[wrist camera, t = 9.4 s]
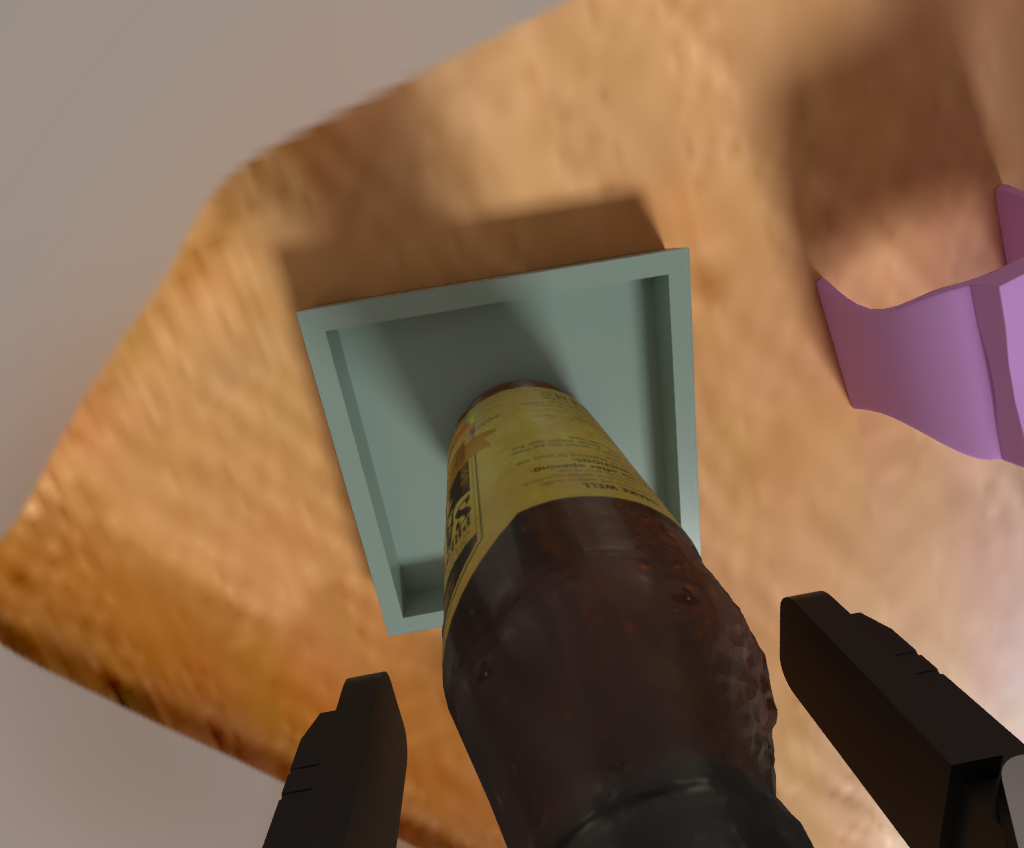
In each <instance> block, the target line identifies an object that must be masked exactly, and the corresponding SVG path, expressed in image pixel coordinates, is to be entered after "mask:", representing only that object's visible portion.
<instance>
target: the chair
mask: <svg viewBox="0 0 1024 848" xmlns="http://www.w3.org/2000/svg"><path fill="white" fill-rule="evenodd" d="M995 194H996V201H997V208H998V214H999V220H1000V226H1001V233H1002V239H1003V245H1004V252H1005V258H1006V264H1007V265H1006V266H1004V267H1001V268H999V269H997V270H995V271H993V272H990V273H988V274H986V275H983V276H980V277H978V278H975V279H972V280H969V281H966V282H962V283H959V284H954V285H950V286H946V287H943V288H940V289H937V290H934V291H931V292H929V293H926V294H924V295H922V296H920V297H917V298H915V299H913V300H911V301H908V302H906V303H903V304H901V305H898V306H894V307H890V308H886V309H869V308H866V307H863V306H861V305H858V304H856V303H855V302H853V301H851V300H850V299H848V298H847V297H845V296H844V295H843V294H842V293H840V292H839V291H838V290H837V289H836V288H835V287H834V286H832V285H831V284H830V283H829V282H828V281H827V280H826V279H824V278H822V279H820V280H818V281H817V282H816V286H817V290H818V293H819V297H820V300H821V304H822V307H823V310H824V314H825V317H826V321H827V324H828V328H829V331H830V335H831V338H832V341H833V345H834V348H835V352H836V355H837V359H838V362H839V366H840V369H841V372H842V376H843V379H844V383H845V386H846V390H847V393H848V396H849V400H850V403H851V406H852V407H853V408H854V409H864V410H871V411H875V412H879V413H882V414H885V415H888V416H890V417H893V418H895V419H897V420H899V421H901V422H903V423H905V424H907V425H909V426H911V427H913V428H915V429H917V430H919V431H920V432H922V433H924V434H926V435H928V436H930V437H931V438H933V439H935V440H937V441H939V442H941V443H942V444H944V445H946V446H948V447H950V448H952V449H954V450H956V451H958V452H961V453H963V454H966V455H968V456H971V457H975V458H979V459H986V460H995V459H1003V460H1005V461H1008V462H1010V463H1013V464H1016V465H1018V466H1021V467H1024V192H1023V191H1020V190H1018V189H1016V188H1013V187H1011V186H1009V185H1006V184H1003V185H1001V186H999V187H997V188H996V189H995Z"/></svg>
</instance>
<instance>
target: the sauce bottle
mask: <svg viewBox="0 0 1024 848" xmlns="http://www.w3.org/2000/svg"><path fill="white" fill-rule="evenodd" d="M443 561H444V572H445V575H444V600H443V610H444V621H443V627H442V638H443V659H442V670H443V688H444V692H445V697H446V701H447V705H448V709H449V711H450V714H451V716H452V718H453V720H454V723H455V725H456V727H457V729H458V732H459V734H460V736H461V739H462V741H463V743H464V745H465V748H466V750H467V752H468V755H469V757H470V759H471V761H472V764H473V766H474V768H475V770H476V773H477V775H478V777H479V779H480V782H481V784H482V786H483V789H484V791H485V793H486V795H487V798H488V800H489V802H490V805H491V807H492V810H493V812H494V815H495V817H496V820H497V822H498V825H499V827H500V830H501V833H502V835H503V838H504V840H505V843H506V845H507V848H814V847H813V845H812V843H811V841H810V839H809V837H808V835H807V833H806V832H805V830H804V828H803V826H802V824H801V822H800V821H798V820H797V819H796V818H795V817H794V816H793V815H792V814H791V813H790V812H789V811H788V810H787V808H786V807H785V806H784V805H783V803H782V802H781V801H780V800H779V799H778V798H777V797H776V774H775V769H774V763H775V757H774V744H773V739H772V729H773V727H774V726H775V724H776V722H777V708H776V706H775V703H774V699H773V695H772V690H771V686H770V679H769V672H768V668H767V663H766V657H765V654H764V652H763V651H762V650H761V648H760V647H759V645H758V643H757V641H756V639H755V636H754V635H753V634H752V632H751V631H750V629H749V627H748V625H747V622H746V620H745V618H744V616H743V614H742V613H741V611H740V608H739V607H738V606H737V605H736V604H735V603H734V602H733V601H732V599H731V598H730V596H729V594H728V593H727V592H726V591H725V590H724V588H723V587H722V586H721V585H720V584H719V582H718V580H716V578H715V577H714V576H713V574H712V573H711V572H710V571H709V570H708V569H707V568H706V567H705V566H704V564H703V563H702V559H701V557H700V555H699V553H698V551H697V549H696V547H695V545H694V543H693V541H692V540H691V539H690V537H689V536H688V535H687V533H686V532H685V531H684V530H683V528H682V527H681V526H680V525H679V523H678V522H677V521H676V519H675V518H674V517H673V516H672V514H671V513H670V512H669V511H668V509H667V508H666V507H665V505H664V504H663V503H662V502H661V500H660V499H659V498H658V497H657V495H656V494H655V493H654V492H653V490H652V489H651V488H650V487H649V485H648V484H647V483H646V482H645V480H644V479H643V478H642V477H641V475H640V474H639V473H638V472H637V470H636V469H635V468H634V467H633V466H632V464H631V463H630V462H629V461H628V459H627V458H626V457H625V455H624V454H623V453H622V452H621V450H620V449H619V448H618V447H617V445H616V444H615V443H614V442H613V440H612V439H611V438H610V437H609V435H608V434H607V433H606V432H605V430H604V429H603V428H602V427H601V425H600V424H599V423H598V422H597V421H596V420H595V418H594V417H593V416H592V415H591V414H590V413H589V411H588V410H587V409H586V408H585V407H584V406H583V405H582V404H581V403H579V402H578V401H577V400H576V399H575V398H573V397H571V396H569V395H567V394H565V393H564V392H563V391H562V390H560V389H559V388H558V387H556V386H553V385H550V384H548V383H546V382H536V381H516V382H515V381H512V382H509V383H505V384H500V385H497V386H495V387H493V388H490V389H489V390H487V391H485V392H484V393H482V394H481V395H480V396H479V397H477V398H476V399H475V400H474V401H473V402H472V404H471V405H470V406H469V407H468V409H467V410H466V411H465V413H464V414H462V415H461V417H460V418H459V421H458V424H457V426H456V430H455V432H454V435H453V437H452V440H451V443H450V446H449V451H448V463H447V499H446V527H445V544H444V560H443Z"/></svg>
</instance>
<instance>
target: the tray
mask: <svg viewBox="0 0 1024 848" xmlns="http://www.w3.org/2000/svg"><path fill="white" fill-rule="evenodd" d="M296 314H297V318H298V321H299V325H300V328H301V332H302V335H303V339H304V342H305V346H306V349H307V353H308V356H309V360H310V363H311V367H312V370H313V374H314V377H315V381H316V384H317V388H318V391H319V395H320V398H321V402H322V405H323V408H324V412H325V415H326V419H327V422H328V426H329V429H330V433H331V436H332V440H333V443H334V447H335V450H336V454H337V457H338V461H339V464H340V468H341V471H342V475H343V478H344V482H345V485H346V489H347V492H348V496H349V499H350V503H351V506H352V510H353V513H354V517H355V520H356V524H357V527H358V531H359V534H360V538H361V541H362V545H363V548H364V552H365V555H366V558H367V562H368V565H369V569H370V572H371V576H372V579H373V583H374V586H375V590H376V593H377V597H378V600H379V604H380V607H381V611H382V614H383V618H384V621H385V625H386V628H387V632H388V635H389V636H395V635H400V634H405V633H410V632H416V631H421V630H426V629H431V628H437V627H442V626H443V621H444V610H443V600H444V575H445V572H444V561H443V560H444V544H445V527H446V499H447V463H448V451H449V446H450V443H451V440H452V437H453V435H454V432H455V430H456V426H457V424H458V421H459V418H460V417H461V415H462V414H464V413H465V411H466V410H467V409H468V407H469V406H470V405H471V404H472V402H473V401H474V400H475V399H476V398H477V397H479V396H480V395H481V394H482V393H484V392H485V391H487V390H489V389H490V388H493V387H495V386H497V385H500V384H505V383H509V382H512V381H515V382H516V381H536V382H546V383H548V384H550V385H553V386H556V387H558V388H559V389H560V390H562V391H563V392H564V393H565V394H567V395H569V396H571V397H573V398H575V399H576V400H577V401H578V402H579V403H581V404H582V405H583V406H584V407H585V408H586V409H587V410H588V411H589V413H590V414H591V415H592V416H593V417H594V418H595V420H596V421H597V422H598V423H599V424H600V425H601V427H602V428H603V429H604V430H605V432H606V433H607V434H608V435H609V437H610V438H611V439H612V440H613V442H614V443H615V444H616V445H617V447H618V448H619V449H620V450H621V452H622V453H623V454H624V455H625V457H626V458H627V459H628V461H629V462H630V463H631V464H632V466H633V467H634V468H635V469H636V470H637V472H638V473H639V474H640V475H641V477H642V478H643V479H644V480H645V482H646V483H647V484H648V485H649V487H650V488H651V489H652V490H653V492H654V493H655V494H656V495H657V497H658V498H659V499H660V500H661V502H662V503H663V504H664V505H665V507H666V508H667V509H668V511H669V512H670V513H671V514H672V516H673V517H674V518H675V519H676V521H677V522H678V523H679V525H680V526H681V527H682V528H683V530H684V531H685V532H686V533H687V535H688V536H689V537H690V539H691V540H692V541H693V543H694V545H695V547H696V549H697V551H698V553H699V555H700V557H701V550H700V523H699V497H698V470H697V443H696V416H695V390H694V363H693V336H692V309H691V283H690V256H689V248H671V249H661V250H655V251H649V252H643V253H637V254H631V255H625V256H619V257H613V258H606V259H600V260H594V261H588V262H582V263H576V264H570V265H564V266H558V267H552V268H545V269H539V270H533V271H527V272H521V273H515V274H509V275H503V276H497V277H490V278H484V279H478V280H472V281H466V282H460V283H454V284H448V285H442V286H435V287H429V288H423V289H417V290H411V291H405V292H399V293H393V294H387V295H380V296H374V297H368V298H362V299H356V300H350V301H344V302H338V303H332V304H325V305H319V306H313V307H310V308H307V309H304V310H301V311H297V312H296Z"/></svg>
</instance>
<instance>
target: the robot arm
mask: <svg viewBox="0 0 1024 848" xmlns="http://www.w3.org/2000/svg"><path fill="white" fill-rule="evenodd" d="M780 663H781V667H782V670H783V673H784V676H785V678H786V681H787V683H788V685H789V687H790V688H791V690H792V691H793V693H794V694H795V696H796V697H797V698H798V700H799V701H800V702H801V704H802V705H803V706H804V708H805V709H806V710H807V711H808V713H809V714H810V715H811V717H812V718H813V719H814V721H815V722H816V723H817V725H818V726H819V727H820V729H821V730H822V731H823V733H824V734H825V735H826V737H827V738H828V739H829V741H830V742H831V743H832V745H833V746H834V747H835V749H836V750H837V751H838V753H839V754H840V755H841V757H842V758H843V759H844V761H845V762H846V763H847V765H848V766H849V767H850V769H851V770H852V771H853V773H854V774H855V775H856V777H857V778H858V779H859V781H860V782H861V783H862V785H863V786H864V787H865V789H866V790H867V791H868V793H869V794H870V795H871V797H872V798H873V799H874V801H875V802H876V803H877V805H878V806H879V807H880V809H881V810H882V811H883V813H884V814H885V815H886V817H887V818H888V819H889V821H890V822H891V823H892V825H893V826H894V827H895V829H896V830H897V831H898V833H899V834H900V835H901V837H902V838H903V839H904V841H905V842H906V843H907V845H908V846H909V847H910V848H1024V744H1023V743H1022V742H1021V741H1020V740H1019V739H1018V738H1016V737H1015V736H1014V735H1013V734H1012V733H1011V732H1009V731H1008V730H1007V729H1006V728H1005V727H1004V726H1003V725H1001V724H1000V723H999V722H998V721H997V720H996V719H995V718H993V717H992V716H991V715H990V714H989V713H988V712H986V711H985V710H984V709H983V708H982V707H981V706H980V705H978V704H977V703H976V702H975V701H974V700H973V699H971V698H970V697H969V696H968V695H967V694H966V693H965V692H963V691H962V690H961V689H960V688H959V687H958V686H957V685H955V684H954V683H953V682H952V681H951V680H950V679H948V678H947V677H946V676H945V675H944V674H940V673H939V672H938V669H937V668H936V667H935V666H934V665H932V664H931V663H930V662H929V661H928V660H927V659H925V658H924V657H923V656H922V655H918V654H917V652H916V650H915V649H914V648H913V647H912V646H911V645H909V644H908V643H907V642H906V641H905V640H904V639H902V638H901V637H900V636H899V635H898V634H897V633H896V632H894V631H893V630H892V629H891V628H889V627H887V626H885V625H883V624H881V623H879V622H877V621H875V620H873V619H872V618H870V617H868V616H866V615H864V614H862V613H855V614H850V613H849V612H848V611H847V610H846V609H845V608H844V607H842V606H841V605H840V604H839V603H838V602H837V601H836V600H835V599H834V598H833V597H832V596H830V595H829V594H828V593H826V592H824V591H817V592H811V593H806V594H801V595H796V596H790V597H785V598H783V599H782V601H781V605H780ZM406 767H407V739H406V732H405V728H404V724H403V721H402V717H401V714H400V711H399V707H398V704H397V701H396V697H395V694H394V691H393V687H392V684H391V681H390V678H389V675H388V674H387V672H379V673H374V674H369V675H363V676H358V677H353V678H348V679H347V680H346V681H345V683H344V686H343V689H342V692H341V695H340V698H339V702H338V705H337V708H336V710H335V711H330V712H325V713H320V714H319V716H318V717H317V718H316V720H315V721H314V723H313V724H312V725H311V727H310V728H309V729H308V731H307V732H306V733H305V735H304V736H303V737H302V739H301V741H300V743H299V746H298V749H297V752H296V755H295V757H294V760H293V763H292V766H291V769H290V770H291V773H290V775H288V777H287V780H286V783H285V785H284V788H283V791H282V799H281V800H279V802H278V805H277V808H276V811H275V813H274V816H273V819H272V822H271V825H270V827H269V830H268V833H267V836H266V839H265V842H264V845H263V847H262V848H396V845H397V838H398V830H399V822H400V814H401V806H402V799H403V791H404V783H405V775H406Z"/></svg>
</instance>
